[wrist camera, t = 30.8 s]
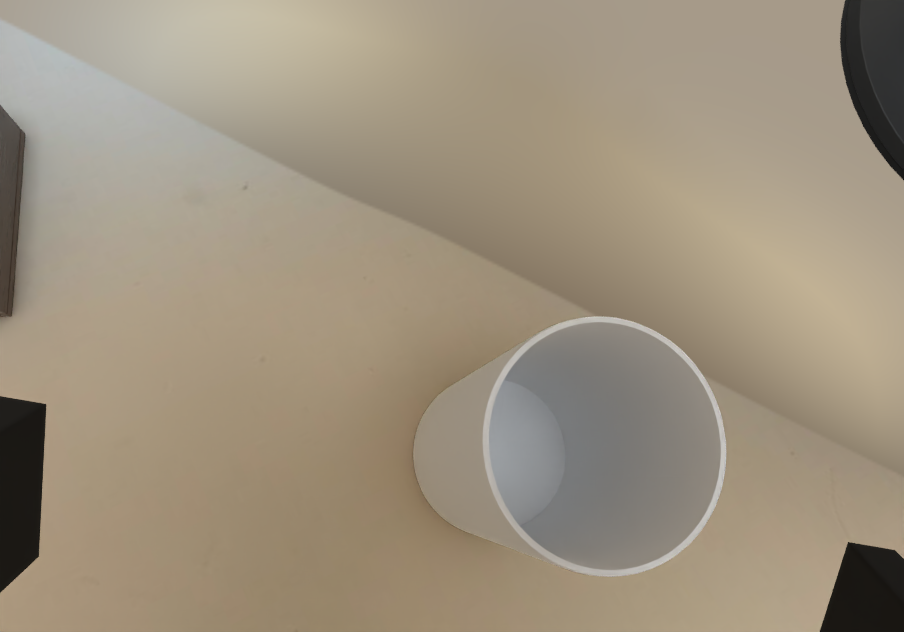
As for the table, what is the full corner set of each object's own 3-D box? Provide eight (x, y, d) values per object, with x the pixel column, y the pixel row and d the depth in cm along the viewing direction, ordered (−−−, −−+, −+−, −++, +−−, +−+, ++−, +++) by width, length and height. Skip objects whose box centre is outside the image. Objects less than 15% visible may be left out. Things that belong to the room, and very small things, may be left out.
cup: (439, 354, 40) (521, 281, 25) (584, 402, 41) (749, 359, 26) (392, 509, 38) (448, 534, 23) (545, 555, 39) (699, 610, 24)
